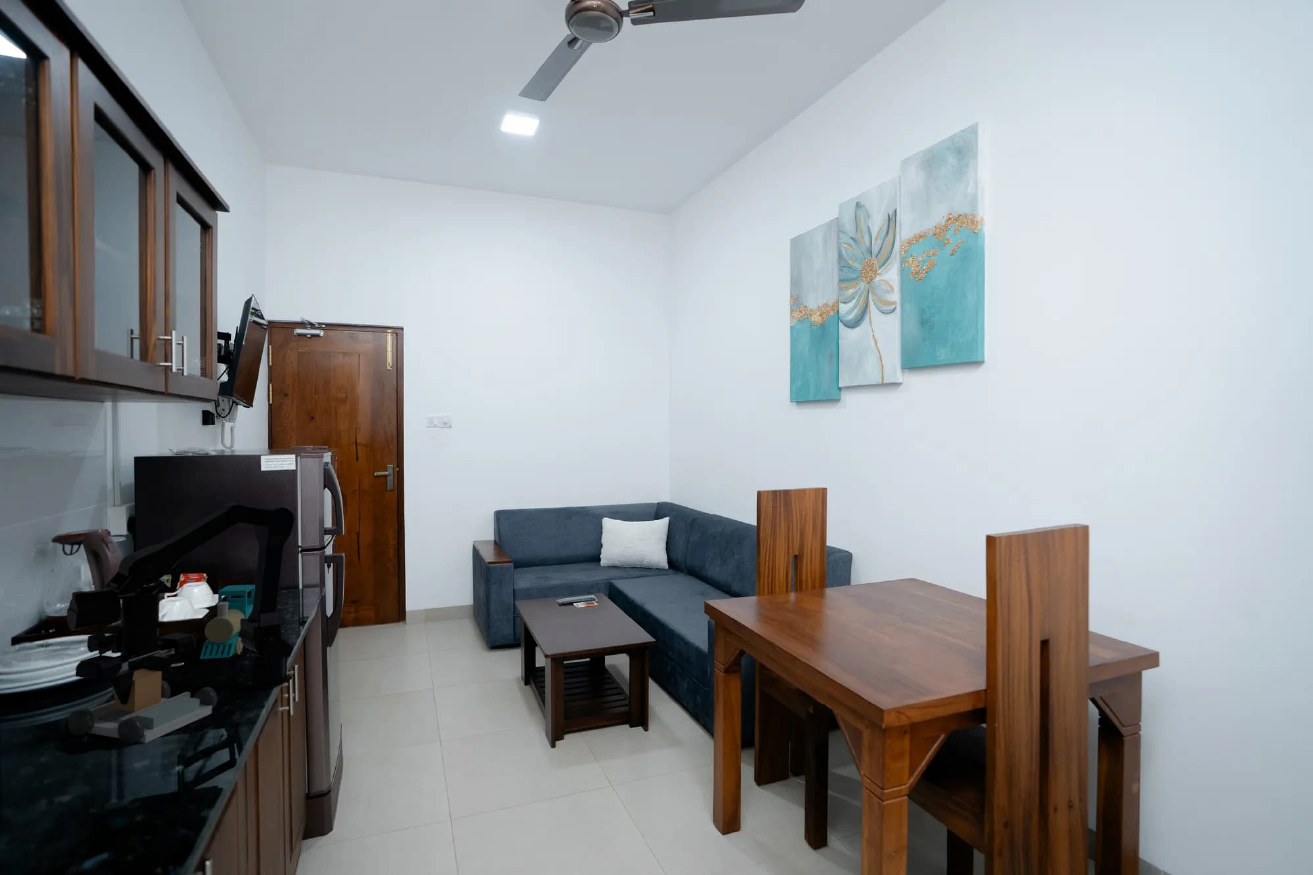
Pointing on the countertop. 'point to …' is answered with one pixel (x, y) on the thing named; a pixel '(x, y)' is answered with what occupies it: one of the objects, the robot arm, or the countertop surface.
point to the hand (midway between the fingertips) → (138, 698)
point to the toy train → (228, 622)
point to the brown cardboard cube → (142, 691)
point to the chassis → (144, 716)
